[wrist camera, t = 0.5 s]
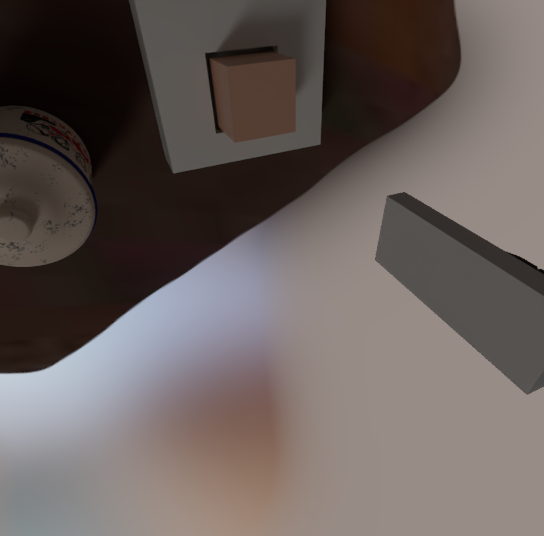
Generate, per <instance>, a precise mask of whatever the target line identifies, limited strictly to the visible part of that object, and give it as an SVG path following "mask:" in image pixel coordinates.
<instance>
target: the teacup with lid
mask: <svg viewBox="0 0 544 536" xmlns="http://www.w3.org/2000/svg"><path fill="white" fill-rule="evenodd" d="M96 218H97V201H96V197H95V193H94V190H93V188H92V167H91V160H90V156H89V153H88V151H87V148H86V146H85V145H84V143H83V141H82V140H81V138H80V137H79V136H78V135H77V133H76V132H75V131H74V130H73V129H72V128H71V127H69V126H68V125H67V124H66V123H64V122H63V121H62V120H60V119H58V118H57V117H55V116H53V115H51V114H49V113H47V112H44V111H42V110H39V109H35V108H31V107H26V106H3V107H0V264H1V265H7V266H17V267H29V266H39V265H44V264H49V263H52V262H55V261H58V260H60V259H63V258H65V257H67V256H68V255H70V254H72V253H73V252H74V251H76V250H77V249H78V248H79V247H80V246H81V245H82V244H83V243H84V242H85V241H86V240H87V239H88V237H89V236H90V234H91V232H92V231H93V228H94V226H95V223H96Z"/></svg>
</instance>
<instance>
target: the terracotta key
mask: <svg viewBox="0 0 544 536" xmlns="http://www.w3.org/2000/svg"><path fill="white" fill-rule="evenodd" d="M210 65H211V72H212V80H213V87H214V95H215V103H216V110H217V118H218V125H219V128H220V129H221V130H222V131H223V132H224V133H225V134H227V135H228V136H229V137H230V138H231V139H232V140H233V141H234V142H235V143H237V142H242V141H248V140H253V139H259V138H264V137H270V136H275V135H281V134H286V133H292V132H296V59H295V58H292V57H289V56H285V55H282V54H279V53H275V52H272V51H269V52H260V53H251V54H242V55H233V56H224V57H215V58H210Z"/></svg>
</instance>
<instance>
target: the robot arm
mask: <svg viewBox="0 0 544 536" xmlns="http://www.w3.org/2000/svg"><path fill="white" fill-rule="evenodd" d="M375 260H376V261H377V262H378V263H380V265H381V266H383V267H384V268H385V269H386V270H387V271H388V272H389V273H390V274H392V275H393V276H394V277H395V278H396V279H397V280H398V281H399V282H401V283H402V284H403V285H404V286H405V287H406V288H407V289H409V290H410V291H411V292H412V293H413V294H414V295H415V296H417V298H419V299H420V300H421V301H422V302H423V303H424V304H425V305H427V306H428V307H429V308H430V309H431V310H432V311H433V312H434V313H435V314H437V315H438V316H439V317H440V318H441V319H442V320H443V321H445V322H446V323H447V324H448V325H449V326H450V327H451V328H452V329H453V330H455V331H456V332H457V333H458V334H459V335H460V336H461V337H463V338H464V339H465V340H466V341H467V342H468V343H469V344H471V345H472V346H473V347H474V348H475V349H476V350H477V351H478V352H480V353H481V354H482V355H483V356H484V357H485V358H486V359H487V360H488V361H490V362H491V363H492V364H493V365H494V366H495V367H496V368H497V369H499V370H500V371H501V372H502V373H503V374H504V375H505V376H506V377H508V378H509V379H510V380H511V381H512V382H513V383H514V384H516V385H517V386H518V387H519V388H520V389H521V390H522V391H523V392H524V393H526V394H530V393H532V392H533V391H536V390H538V389H540V388H542V387H544V270H542V269H538V268H537V266H535V265H533V264H532V263H530V262H528V261H527V260H525V259H523V258H521V257H519V256H517V255H514V254H511V253H508V252H505V251H503V250H502V249H500V248H498V247H496V246H495V245H493V244H491V243H490V242H488V241H487V240H485V239H483V238H481V237H480V236H478V235H476V234H475V233H473V232H471V231H470V230H468V229H466V228H465V227H463V226H461V225H459V224H458V223H456V222H454V221H453V220H451V219H449V218H448V217H446V216H444V215H442V214H441V213H439V212H437V211H436V210H434V209H432V208H431V207H429V206H427V205H426V204H424V203H422V202H421V201H419V200H417V199H415V198H414V197H412V196H410V195H408V194H407V193H405V192H403V193H398V194H394V195H389V196H387V198H386V204H385V209H384V214H383V220H382V225H381V230H380V236H379V242H378V246H377V252H376V257H375Z"/></svg>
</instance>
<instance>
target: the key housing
mask: <svg viewBox="0 0 544 536" xmlns="http://www.w3.org/2000/svg"><path fill="white" fill-rule="evenodd" d="M129 3H130V8H131V12H132V16H133V20H134V25H135V29H136V33H137V38H138V42H139V46H140V50H141V55H142V59H143V63H144V68H145V72H146V76H147V80H148V85H149V89H150V93H151V98H152V102H153V106H154V110H155V115H156V119H157V123H158V128H159V132H160V136H161V140H162V145H163V149H164V153H165V158H166V160H167V162H168V164H169V166H170V168H171V170H172V172H173V173H177V172H183V171H188V170H193V169H198V168H203V167H208V166H213V165H218V164H223V163H228V162H233V161H238V160H243V159H248V158H253V157H259V156H264V155H269V154H274V153H279V152H284V151H289V150H294V149H299V148H304V147H309V146H314V145H319V144H320V139H321V115H322V90H323V65H324V40H325V15H326V0H129ZM269 51H272V52H275V53H279V54H282V55H285V56H289V57H292V58H295V59H296V132H292V133H286V134H281V135H275V136H270V137H264V138H259V139H253V140H248V141H242V142H237V143H235V142H234V141H233V140H232V139H231V138H230V137H229V136H228V135H227V134H225V133H224V132H223V131H222V130H221V129H220V128H219V125H218V118H217V110H216V103H215V95H214V87H213V80H212V72H211V65H210V58H215V57H224V56H233V55H242V54H251V53H260V52H269Z"/></svg>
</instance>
